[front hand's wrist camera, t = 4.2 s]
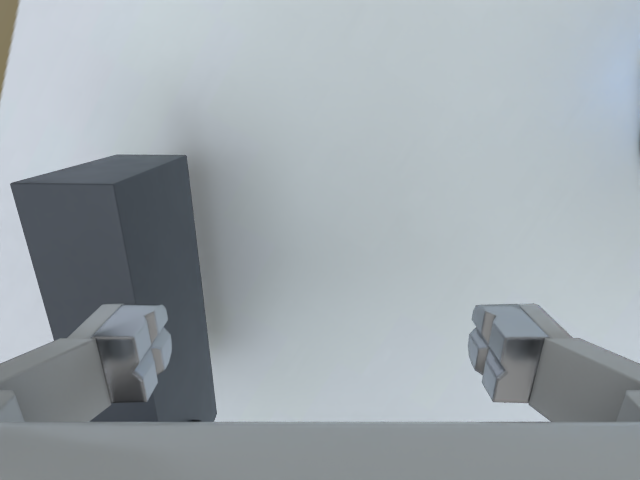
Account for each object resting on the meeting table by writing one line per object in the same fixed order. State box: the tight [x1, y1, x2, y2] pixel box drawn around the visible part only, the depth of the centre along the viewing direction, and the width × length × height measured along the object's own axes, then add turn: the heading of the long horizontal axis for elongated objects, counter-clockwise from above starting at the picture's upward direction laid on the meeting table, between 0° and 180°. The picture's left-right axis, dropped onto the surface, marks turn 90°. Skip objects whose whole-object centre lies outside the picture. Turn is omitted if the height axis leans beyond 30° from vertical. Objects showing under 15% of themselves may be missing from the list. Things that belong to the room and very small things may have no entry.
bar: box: [10, 155, 217, 422], centre depth 27 cm, size 23×5×10 cm, turn 0°
